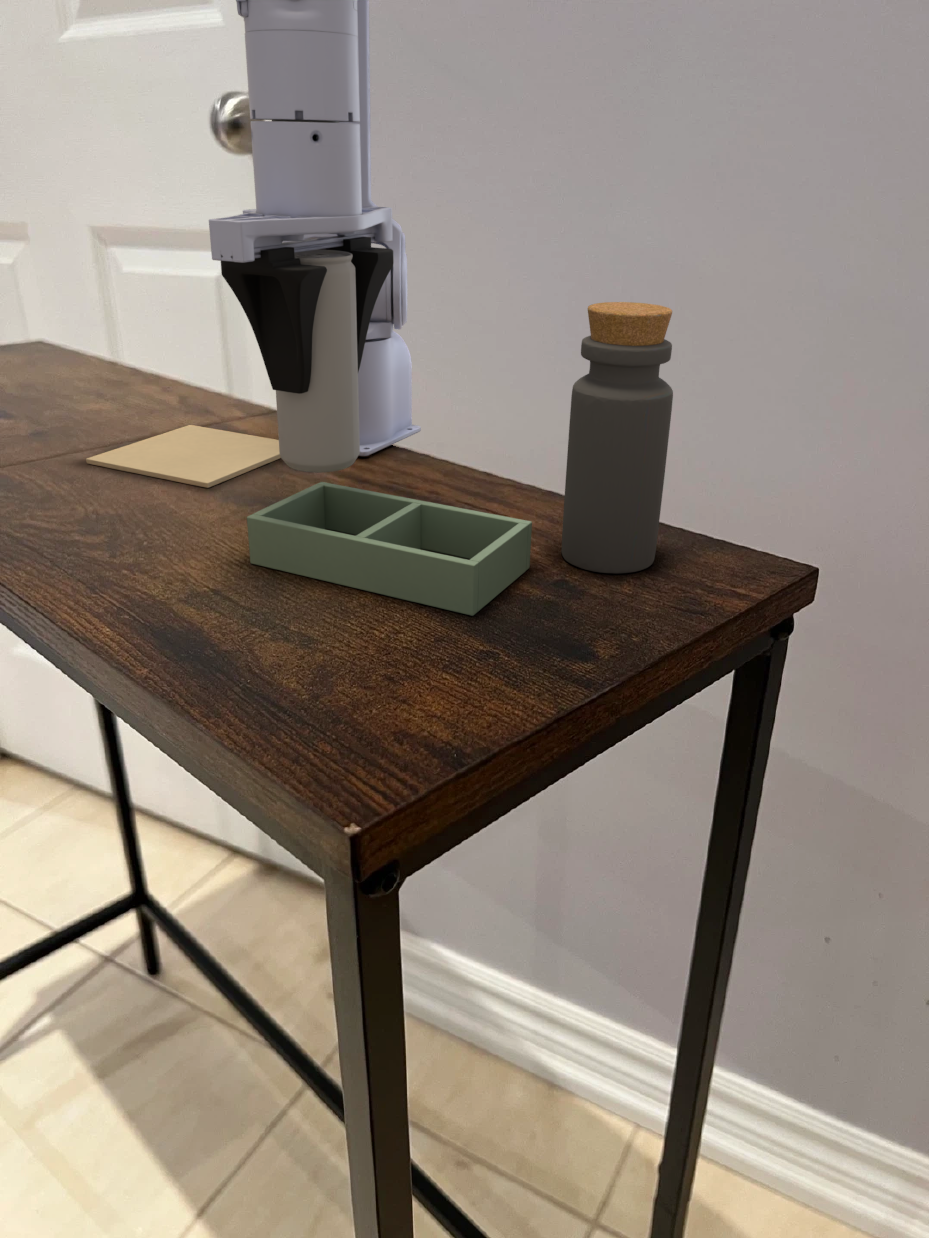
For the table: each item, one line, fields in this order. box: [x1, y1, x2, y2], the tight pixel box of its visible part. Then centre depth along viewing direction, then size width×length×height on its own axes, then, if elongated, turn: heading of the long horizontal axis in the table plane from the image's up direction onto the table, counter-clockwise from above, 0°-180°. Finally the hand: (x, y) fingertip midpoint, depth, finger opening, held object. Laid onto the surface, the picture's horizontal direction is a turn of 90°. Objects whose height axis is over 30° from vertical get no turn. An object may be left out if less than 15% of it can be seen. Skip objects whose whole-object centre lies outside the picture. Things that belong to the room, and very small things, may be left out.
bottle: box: [561, 301, 674, 575], centre depth 58 cm, size 6×6×15 cm
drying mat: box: [85, 424, 282, 489], centre depth 79 cm, size 12×12×1 cm
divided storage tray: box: [246, 481, 533, 617], centre depth 59 cm, size 8×15×3 cm, turn 63°
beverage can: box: [275, 250, 360, 474], centre depth 57 cm, size 5×5×12 cm
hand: (317, 381), depth 58 cm, fingers closed on beverage can, 5 cm apart
